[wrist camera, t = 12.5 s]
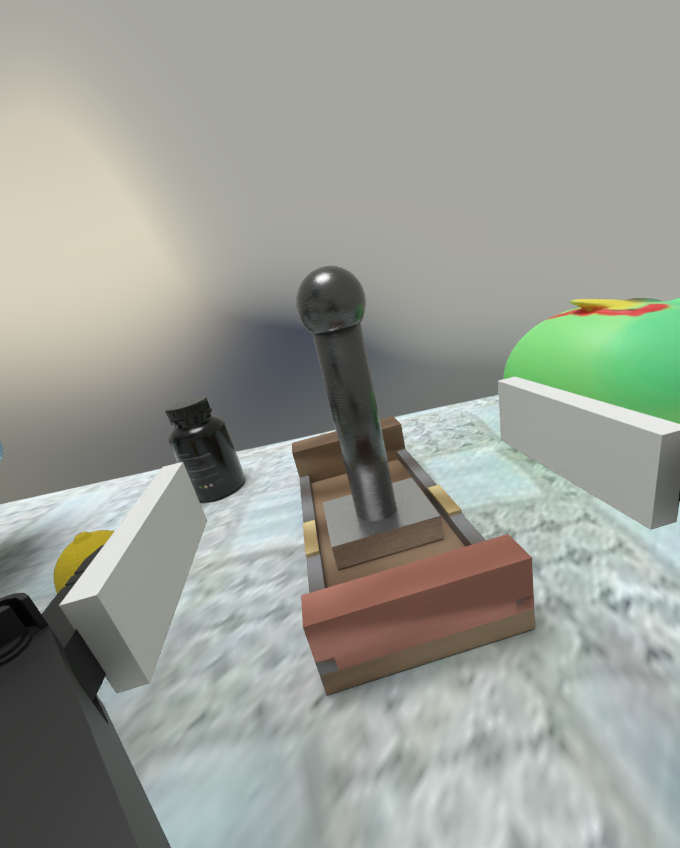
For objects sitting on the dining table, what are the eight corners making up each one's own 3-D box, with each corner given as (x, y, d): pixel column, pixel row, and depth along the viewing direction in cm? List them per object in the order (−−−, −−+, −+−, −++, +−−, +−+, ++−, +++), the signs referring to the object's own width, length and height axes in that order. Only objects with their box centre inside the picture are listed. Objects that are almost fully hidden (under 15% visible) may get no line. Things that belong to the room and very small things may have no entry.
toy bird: (477, 444, 41) (464, 317, 36) (573, 400, 46) (574, 285, 41) (663, 512, 25) (686, 302, 20) (778, 434, 30) (818, 253, 25)
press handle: (328, 521, 30) (262, 285, 24) (414, 497, 31) (373, 259, 24) (337, 569, 25) (254, 276, 18) (443, 538, 25) (400, 243, 19)
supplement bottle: (203, 481, 49) (170, 401, 45) (250, 470, 48) (222, 389, 44) (185, 508, 42) (145, 417, 38) (239, 496, 42) (205, 403, 38)
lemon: (172, 580, 30) (134, 502, 27) (150, 636, 25) (101, 546, 22) (107, 600, 29) (62, 523, 27) (71, 661, 24) (10, 573, 22)
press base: (304, 484, 41) (291, 442, 39) (400, 458, 42) (392, 416, 40) (326, 695, 18) (300, 619, 17) (534, 628, 19) (531, 549, 17)
